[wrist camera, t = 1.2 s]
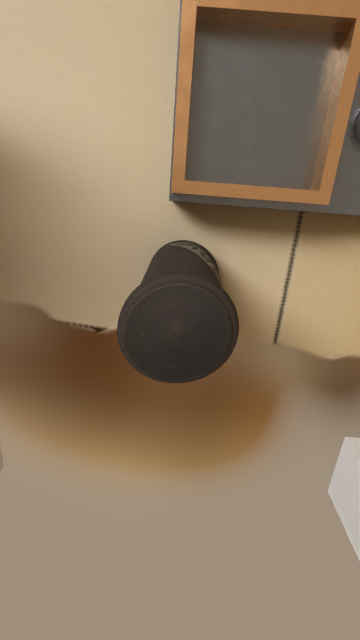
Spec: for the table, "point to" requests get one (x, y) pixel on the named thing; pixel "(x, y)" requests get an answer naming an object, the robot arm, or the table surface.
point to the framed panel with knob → (268, 105)
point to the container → (178, 317)
